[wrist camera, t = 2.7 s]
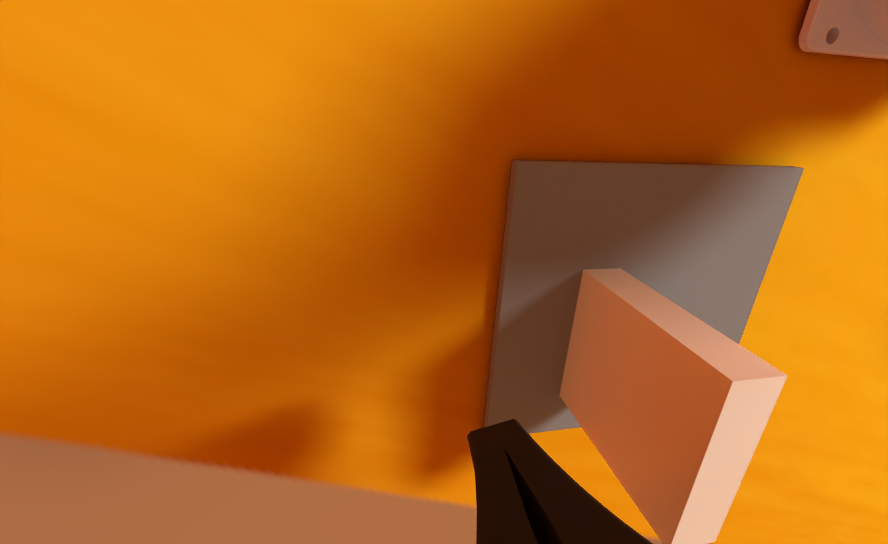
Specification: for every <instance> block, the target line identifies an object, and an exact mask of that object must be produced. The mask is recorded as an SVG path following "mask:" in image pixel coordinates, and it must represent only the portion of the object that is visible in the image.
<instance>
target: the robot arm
mask: <svg viewBox="0 0 888 544" xmlns="http://www.w3.org/2000/svg"><path fill="white" fill-rule="evenodd" d="M827 33H828V34H827ZM826 35H827V39H826ZM798 41H799V47H800V48H801V50H802V51H805V52H813V53H823V54H834V55H845V56H855V57H866V58H877V59H887V60H888V0H811V1H810V4H809V7H808V10H807V13H806V16H805V20H804V23H803V26H802V29H801V32H800V35H799V40H798ZM467 437H468V442H469V447H470V451H471V456H472V460H473V465H474V470H475V480H476V500H477V542H476V543H477V544H653V543H651V542H650V541H648V540H647V539H646V538H644V537H643V536H641V535H640V534H639V533H637V532H636V531H635V530H633V529H632V528H631V527H629V526H628V525H627V524H625V523H624V522H623V521H622V520H620V519H619V518H618V517H617V516H615V515H614V514H613V513H612V512H610V511H609V510H608V509H607V508H605V507H604V506H603V505H602V504H601V503H599V502H598V501H597V500H596V499H595V498H594V497H592V496H591V495H590V494H589V493H588V492H587V491H585V490H584V489H583V488H582V487H581V486H580V485H579V484H578V483H577V482H575V481H574V480H573V479H572V478H571V477H570V476H569V475H568V474H567V473H566V472H565V471H564V470H563V469H562V468H561V467H560V466H559V465H558V464H556V463H555V462H554V461H553V460H552V459H551V458H550V457H549V456H548V454H547V453H546V452H545V451H544V450H543V449H542V448H541V447H540V446H539V445H538V444H537V443H536V442H535V441H534V440H533V439H532V437H531V436H530V435H529V434H528V433H527V432H526V430H525V429H524V428H523V427H522V426H521V424H520V423H519V422H518V421H517V420H515V419H510V420H507V421H504V422H501V423H497V424H494V425H491V426H487V427H484V428H481V429H478V430H474V431H471V432H470V433H469V434H468V436H467Z"/></svg>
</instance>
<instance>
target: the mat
mask: <svg viewBox="0 0 888 544" xmlns="http://www.w3.org/2000/svg"><path fill="white" fill-rule="evenodd" d="M803 169H804V168H800V167H794V166H761V165H716V164H671V163H626V162H582V161H537V160H512V166H511V175H510V184H509V194H508V203H507V212H506V221H505V231H504V240H503V249H502V258H501V268H500V277H499V286H498V295H497V305H496V314H495V323H494V332H493V342H492V351H491V360H490V370H489V379H488V388H487V397H486V407H485V416H484V425H483V428H484V427H487V426H491V425H494V424H497V423H501V422H504V421H507V420H510V419H515V420H517V421H518V422H519V423H520V424H521V426H522V427H523V428H524V429H525V430H526V432H527V433H536V432H544V431H553V430H561V429H569V428H577V427H581V425H580V424H579V422H578V421H577V420H576V418H575V417H574V415H573V414H572V412H571V411H570V410H569V408H568V407H567V405H566V404H565V402H564V401H563V400H562V398H561V397H560V390H561V384H562V379H563V374H564V368H565V363H566V358H567V353H568V347H569V342H570V337H571V332H572V326H573V321H574V316H575V311H576V305H577V300H578V295H579V289H580V284H581V279H582V274H583V270H584V269H611V268H621V269H622V270H624V271H625V272H627V273H628V274H630V275H632V276H633V277H635V278H636V279H638V280H639V281H641V282H642V283H644V284H646V285H647V286H649V287H650V288H652V289H653V290H655V291H656V292H658V293H660V294H661V295H663V296H664V297H666V298H667V299H669V300H670V301H672V302H674V303H675V304H677V305H678V306H680V307H681V308H683V309H684V310H686V311H688V312H689V313H691V314H692V315H694V316H695V317H697V318H698V319H700V320H702V321H703V322H705V323H706V324H708V325H709V326H711V327H713V328H714V329H716V330H717V331H719V332H720V333H722V334H723V335H725V336H727V337H728V338H730V339H731V340H733V341H734V342H736V343H737V344H739V342H740V339H741V337H742V334H743V331H744V329H745V326H746V323H747V320H748V318H749V315H750V312H751V310H752V307H753V304H754V302H755V299H756V296H757V293H758V291H759V288H760V285H761V283H762V280H763V277H764V275H765V272H766V269H767V266H768V264H769V261H770V258H771V256H772V253H773V250H774V248H775V245H776V242H777V239H778V237H779V234H780V231H781V229H782V226H783V223H784V221H785V218H786V215H787V212H788V210H789V207H790V204H791V202H792V199H793V196H794V194H795V191H796V188H797V185H798V183H799V180H800V177H801V175H802V172H803Z"/></svg>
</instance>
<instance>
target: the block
mask: <svg viewBox="0 0 888 544" xmlns="http://www.w3.org/2000/svg"><path fill="white" fill-rule="evenodd" d="M786 378H787V375H786V374H784V373H783V372H781V371H780V370H778V369H776V368H775V367H773V366H772V365H770V364H769V363H767V362H765V361H764V360H762V359H761V358H759V357H758V356H756V355H755V354H753V353H751V352H750V351H748V350H747V349H745V348H744V347H742V346H741V345H739V344H737V343H736V342H734V341H733V340H731V339H730V338H728V337H727V336H725V335H723V334H722V333H720V332H719V331H717V330H716V329H714V328H713V327H711V326H709V325H708V324H706V323H705V322H703V321H702V320H700V319H698V318H697V317H695V316H694V315H692V314H691V313H689V312H688V311H686V310H684V309H683V308H681V307H680V306H678V305H677V304H675V303H674V302H672V301H670V300H669V299H667V298H666V297H664V296H663V295H661V294H660V293H658V292H656V291H655V290H653V289H652V288H650V287H649V286H647V285H646V284H644V283H642V282H641V281H639V280H638V279H636V278H635V277H633V276H632V275H630V274H628V273H627V272H625V271H624V270H622V269H621V268H611V269H584V270H583V274H582V279H581V284H580V289H579V295H578V300H577V305H576V311H575V316H574V321H573V326H572V332H571V337H570V342H569V347H568V353H567V358H566V363H565V368H564V374H563V379H562V384H561V390H560V397H561V398H562V400H563V401H564V402H565V404H566V405H567V407H568V408H569V410H570V411H571V412H572V414H573V415H574V417H575V418H576V420H577V421H578V422H579V424H580V425H581V427H582V428H583V430H584V431H585V433H586V434H587V435H588V437H589V438H590V440H591V441H592V443H593V444H594V445H595V447H596V448H597V450H598V451H599V453H600V454H601V455H602V457H603V458H604V460H605V461H606V463H607V464H608V465H609V467H610V468H611V470H612V471H613V473H614V474H615V475H616V477H617V478H618V480H619V481H620V483H621V484H622V485H623V487H624V488H625V490H626V491H627V493H628V494H629V495H630V497H631V498H632V500H633V501H634V503H635V504H636V505H637V507H638V508H639V510H640V511H641V513H642V514H643V515H644V517H645V518H646V520H647V521H648V523H649V524H650V525H651V527H652V528H653V530H654V531H655V533H656V534H657V535H658V537H659V538H660V540H661V541H662V543H663V544H707V543H712V542H715V540H716V538H717V536H718V534H719V531H720V529H721V527H722V524H723V522H724V520H725V518H726V515H727V513H728V511H729V508H730V506H731V504H732V502H733V499H734V497H735V495H736V492H737V490H738V488H739V486H740V483H741V481H742V479H743V476H744V474H745V472H746V470H747V467H748V465H749V463H750V460H751V458H752V456H753V453H754V451H755V449H756V447H757V444H758V442H759V440H760V437H761V435H762V433H763V431H764V428H765V426H766V424H767V421H768V419H769V417H770V415H771V412H772V410H773V408H774V405H775V403H776V401H777V399H778V396H779V394H780V392H781V389H782V387H783V385H784V383H785V380H786Z"/></svg>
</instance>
